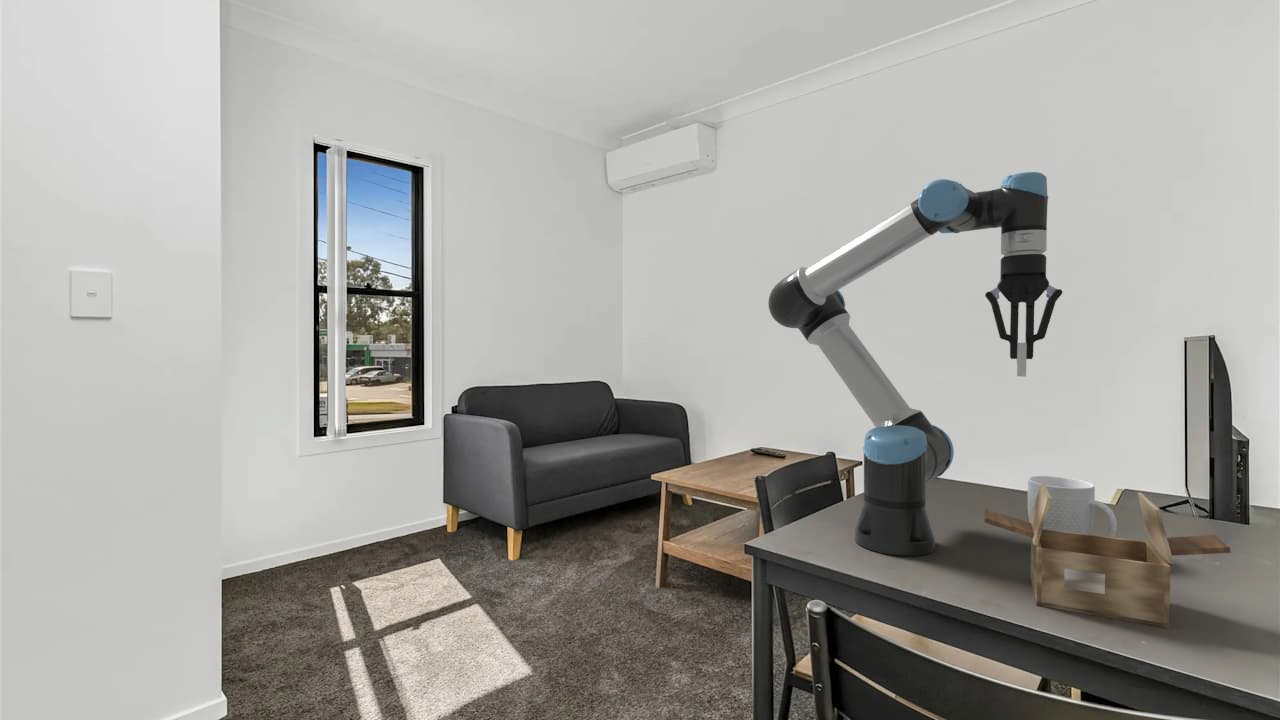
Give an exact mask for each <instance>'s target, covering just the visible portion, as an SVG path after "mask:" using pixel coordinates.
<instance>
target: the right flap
mask: <svg viewBox="0 0 1280 720" xmlns="http://www.w3.org/2000/svg"><path fill="white" fill-rule="evenodd" d="M1137 497H1138V501H1139V504H1140V508H1141V511H1142V516H1143V519H1144V523H1145V527H1146V530H1147V535H1148V537H1149V542H1150V543H1151V544H1152V546H1153V547H1154V548H1155V549H1156V550H1157V551H1158V553H1159V554H1160V555H1161V556H1162V557H1163V559H1164V560H1165V561H1166V562H1167V563H1168V564H1169V565H1170V564H1175V563H1174V559H1173V556H1191V555H1210V554H1214V555H1216V554H1230V553H1232V551H1231V547H1230V546H1229V545H1227V543H1226V542H1224V541H1223V540H1222V539H1220V538H1219V537H1218V536H1217V535H1216V534H1210V535H1209V534H1208V535H1194V536H1193V535H1191V536H1190V535H1189V536H1177V537H1173V536H1172V537H1168V536H1167V533H1166V530H1165V525H1164V522H1163V518H1162V515H1161V512H1160V509H1159V508H1158V507H1157V506H1156V505H1155V504H1154V503H1153V502H1152V501H1151V500H1150V499H1149V498H1147V496H1146V495H1144V493H1142V492H1137Z"/></svg>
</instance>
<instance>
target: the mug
mask: <svg viewBox="0 0 1280 720" xmlns="http://www.w3.org/2000/svg"><path fill="white" fill-rule="evenodd" d="M1041 483H1043V484H1045V486H1046V488H1047V490H1048V492H1049V495H1050V497H1051V499H1052V500H1051V503H1050V506H1049V509H1048V513H1047V516H1046V519H1045V522H1044V526H1043V529H1049V530H1057V531H1065V532H1074V533H1082V534H1090V533H1091V530H1092V527H1093V522H1094V515H1095V507H1096V508H1099V509H1101V510H1102V511H1103V512H1104V513H1105V514H1106V517H1107V519H1108V521H1109V522H1108V523H1109V528H1108V531H1107V533H1106V534H1105V536H1106V537H1114V538H1115V536H1116V532H1117V527H1118V523H1117V518H1116V516H1115V513H1114V512H1113V510H1112V509H1111V507H1109V506H1108V505H1107V504H1106V503H1104V502H1101V501H1098V500H1096V499H1095V495H1096V494H1095V492H1096V490H1095V484H1093V483H1092V482H1089V481H1086V480H1081V479H1077V478H1072V477H1063V476H1057V475H1056V476H1055V475H1054V476H1053V475H1033V476H1029V477H1028V478H1027V511H1028V512H1027V514H1028V520H1029V521H1030V518H1031V515H1032V511H1033V508H1034V505H1035V501H1036V498H1037V495H1038V492H1039V488H1040V485H1041ZM1090 535H1091V534H1090Z"/></svg>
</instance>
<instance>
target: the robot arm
mask: <svg viewBox="0 0 1280 720" xmlns="http://www.w3.org/2000/svg"><path fill="white" fill-rule="evenodd" d="M1047 181H1048V180H1047V176H1046V175H1044V174H1043V173H1042V172H1038V171H1026V172H1018V173H1015V174H1011V175H1008V176H1005V177H1004V178H1003V179H1002V181H1001V185H1000V187H999V188H996V189H992V190H991V189H990V190H983V191H977V192H974V191H972V190H971V189H968V188H966V187H965V186H964V185H963V184H962V183H959V182H958V181H955V180H951V179H947V178H946V179H945V178H942V179H936V180H933V181H931V182H930V183H927V184H926V185H925V186H924V188H922V190H921V192H920V194H919V195H918V198H917V199H915V200H913V201H912V202H911V203H909V204H907V205H906V206H905V207H903V208H901V209H900V210H898V211H897V212H895V213H894V214H892V215H891V216H889V217H887V218H885V219H884V220H882V221H881V222H879V223H878V224H876V225H874V226H873V227H871V228H870V229H868V230H866V231H864V232H863V233H862V234H859V236H857V237H855V238H854V239H852V240H851V241H849V242H848V243H846V244H845V245H843V246H841V247H840V248H838V249H836V250H835V251H833V252H832V253H830V254H828V255H827V256H825V257H824V258H822V259H821V260H819V261H817V262H815V263H814V264H813V265H811V266H809V267H805V266H801V267H800V268H798V269H796V270H795V271H793V272H791V273H790V274H789V275H786V277H784V278H783V279H781V280H780V281H779V282H777V284H776V285H774V286H773V288H772V290H771V292H770V294H769V296H768V309H769V313H770V315H771V317H772V319H774V321H775V322H777V323H778V324H779V325H781V326H782V327H786V328H790V329H798V330H799V331H800V333H801V334H802V336H803V337H804V339H805V340H806V341H807V342H808V343H809V345H816V346H818V347H819V349H820V350H821V352H822V353H823V355H824V356H825V358H827V360H828V361H829V363H830V364H831V366H832V367H833V369H835V371H836V373H837V374H838V376H839V377H840V378H841V380H842V381H843V383H844V385H845V386H846V387H847V388H848V390H849V392H850V393H851V394H852V396H853V397H854V398H855V400H856V401H857V403H858V404H859V406H860V407H861V408H862V410H863V411H864V413H865V415H867V417H868V419H869V421H870V422H872V424H873V425H874V427H873V428H871V429H870V430H868V431H867V432H866V434H865V436H864V443H863V447H862V451H863V505H862V507H861V510H860V513H859V515H858V518H857V520H856V523H855V527H854V542H856V543H857V544H858V545H859V546H861V547H862V548H865V549H868V550H871V551H874V552H877V553H881V554H887V555H894V556H905V557H906V556H909V557H912V556H915V557H917V556H924V555H927V554H928V555H929V554H930V553H932V552H934V551H935V549H936V537H935V535H934V531H933V527H932V525H931V521H930V518H929V516H928V513H927V509H926V508H927V507H926V500H927V499H926V498H927V497H926V495H927V494H926V493H927V491H926V490H927V489H926V488H927V483H928V482H929V481H932V480H935V479H937V478H938V477H940V476H942V475H943V474H945V472H946V471H947V470H948V469H950V466H951V464H952V462H953V460H954V455H955V454H954V453H955V450H954V446H953V445H954V444H953V442H952V439H951V438H950V437H949V435H948V434H947V433H946V431H944V430H943V429H941V428H940V427H938V426H936V425H933V424H932V423H931V422H930V420H929V419H928V418H927V416H926V415H925V414H924V413H923V411H922V410H920V409H915V408H912V407H911V406H909V404H908V403H907V402H906V400H905V399H904V397H903V396H902V395H901V393H900V392H899V391H898V389H897V388H896V386H894V384H893V383H892V382H891V380H890V379H889V377H888V375H886V373H885V372H884V370H883V369H882V368H881V367H880V365H879V363H878V362H877V361H876V359H874V357H873V355H872V354H871V352H870V351H869V350H868V349H867V348H866V346H865V344H863V342H862V341H861V340H860V338H859V336H857V333H855V331H854V330H853V329H852V327H851V326H850V320H851V315H850V314H849V312H848V311H847V309H846V308H845V307H846V301H845V298H844V296H843V294H842V292H841V291H839V290H840V289H842V288H844V287H846V286H847V285H849V284H851V283H853V282H854V281H856V280H858V279H859V278H861V277H863V276H865V275H866V274H868V273H869V272H871V271H873V270H875V269H877V268H878V267H880V266H881V265H883V264H885V263H887V262H888V261H890V260H892V259H894V258H895V257H897V256H898V255H900V254H902V253H903V252H905V251H907V250H908V249H911V248H912V247H914V246H915V245H917V244H919V243H920V242H922V241H924V240H926V239H927V238H929V237H930V236H933V235H935V234H936V233H941V234H952V233H953V234H960V233H963V232H970V231H980V230H986V229H987V230H988V229H997V228H1000V229H1001V230H1000V231H1001V233H1000V234H1001V235H1000V254H1001V255H1002V256H1003V257H1002V258H1001V259H1000V275H999V276H1000V277H999V282H998V283H997V285H996V286H997V287H995V288H994V289H992V290H990V291H987V292H986V293H985V294H984V297H985V298H986V299H987V301H988V302H989V303H990V306H991V309H992V313H993V317H994V320H995V324H996V329H997V332H998V336H999V338H1000V340H1004V341H1007V342H1008V343H1009V357H1010V359H1011V360H1016V366H1015V367H1016V369H1015V376H1016V377H1027V360H1032V359H1033V358H1034V344H1035V342H1037V341H1040V340H1043V339H1045V337H1046V334H1047V331H1048V328H1049V325H1050V321H1051V318H1052V315H1053V312H1054V308H1055V305H1056V303H1057V300H1059V298H1060V297H1061V296H1062V295H1063V290H1062V289H1060V288H1055V287H1053V286H1051V285H1050V282H1049V280H1048V278H1047V256H1046V255H1045V254H1043V253H1046V251H1047V238H1048V237H1047V235H1048V233H1047V230H1048V227H1047V225H1048V203H1049V202H1048V201H1049V195H1048V182H1047ZM1045 291H1046V294H1045V295H1046V298H1047V299H1046V304H1045V307H1044V310H1043V313H1042V317H1041V319H1040V322H1039V326H1038V330H1037V333H1035V303H1036V301H1037V300H1039V299H1040V297H1041V295H1043V294H1044V292H1045ZM1000 293H1001V294H1002V295H1003V297H1004V298H1005V299H1006V301H1008V302H1009V303H1010V322H1009V323H1010V324H1009V327H1010V329H1009V332H1010V333H1007V330H1006V326H1005V322H1004V318H1003V314H1002V312H1001V307H1000V304H999V301H998V300H999V299H1000ZM1020 303H1024V304H1025V342H1018V341H1019V309H1020V308H1019V307H1020Z"/></svg>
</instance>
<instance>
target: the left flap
mask: <svg viewBox="0 0 1280 720" xmlns="http://www.w3.org/2000/svg"><path fill="white" fill-rule="evenodd" d="M1051 500H1052V499H1051V497H1050V495H1049V492H1048V490H1047V488H1046V486H1045V484H1043V483H1041V485H1040V488H1039V492H1038V495H1037V498H1036V501H1035V505H1034V508H1033V511H1032V515H1031V518H1030V520H1029V521H1025V520H1022V519H1019V518H1017V517H1016V518H1015V517H1012V516H1009V515H1006V514H1004V513H1003V514H1002V513H999V512H996V511H993V510H990V509H987V508H984V512H983V521H984V523H985V524H988V525H992V526H995V527H997V528H1001V529H1004V530H1006V531H1010V532H1013V533H1016V534H1019V535H1022V536H1026V537H1028V538H1030V539H1031V538H1032V540H1033V544H1034V545H1038V542H1039V539H1040V536H1041V532H1042V529H1043V526H1044V522H1045V519H1046V516H1047V513H1048V509H1049V506H1050V503H1051Z"/></svg>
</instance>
